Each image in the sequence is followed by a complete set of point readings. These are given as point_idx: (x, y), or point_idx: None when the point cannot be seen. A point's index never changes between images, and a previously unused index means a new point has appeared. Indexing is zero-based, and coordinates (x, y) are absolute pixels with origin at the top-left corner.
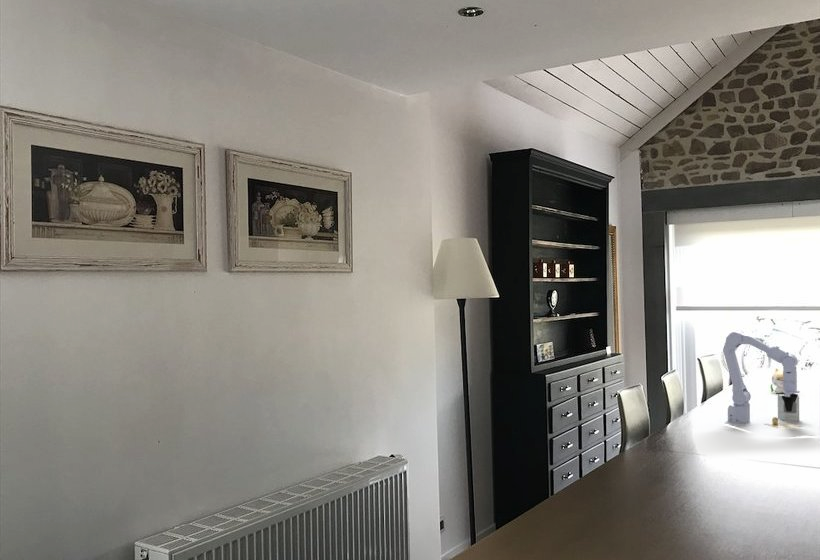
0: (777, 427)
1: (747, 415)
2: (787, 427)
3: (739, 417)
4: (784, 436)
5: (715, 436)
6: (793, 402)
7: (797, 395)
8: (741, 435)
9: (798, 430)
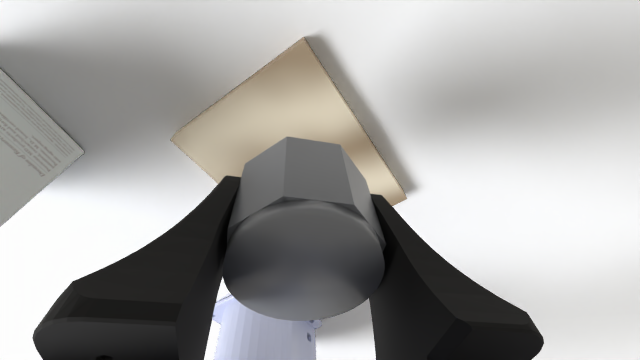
0: (390, 196)
1: (281, 338)
2: (371, 145)
3: (303, 347)
4: (596, 155)
5: (567, 342)
6: (287, 245)
7: (177, 310)
8: (554, 295)
9: (376, 69)
